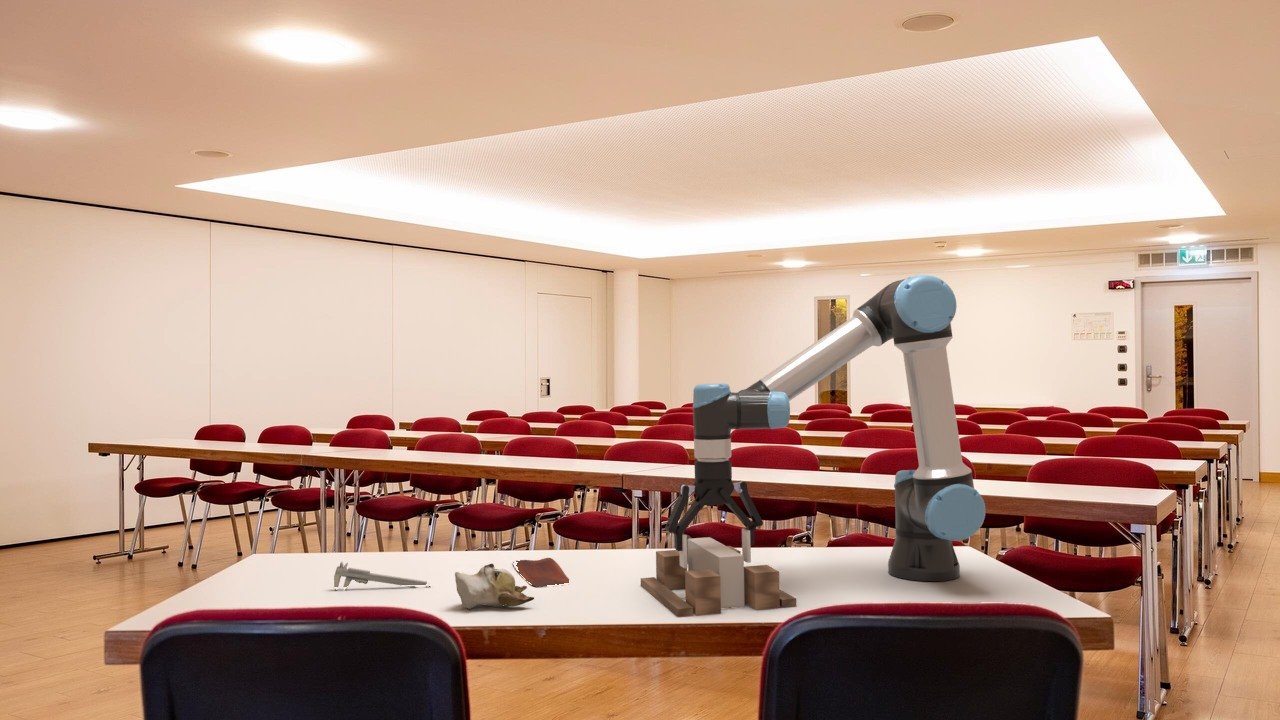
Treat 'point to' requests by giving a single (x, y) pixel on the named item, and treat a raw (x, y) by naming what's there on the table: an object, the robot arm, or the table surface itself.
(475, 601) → the ceramic sculpture
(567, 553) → the table surface
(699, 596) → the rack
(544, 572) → the wooden tablet
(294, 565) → the table surface
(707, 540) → the light grey rectangular block
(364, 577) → the caliper
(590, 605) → the table surface
